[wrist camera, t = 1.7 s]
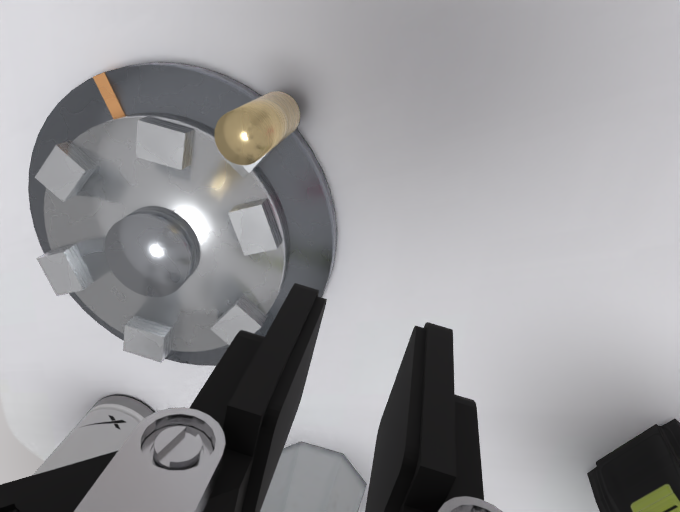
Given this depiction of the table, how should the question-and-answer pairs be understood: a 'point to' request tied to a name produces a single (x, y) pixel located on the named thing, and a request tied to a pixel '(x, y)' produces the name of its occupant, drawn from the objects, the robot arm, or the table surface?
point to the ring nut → (171, 224)
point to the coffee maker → (313, 482)
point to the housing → (208, 107)
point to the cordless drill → (641, 473)
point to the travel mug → (98, 432)
